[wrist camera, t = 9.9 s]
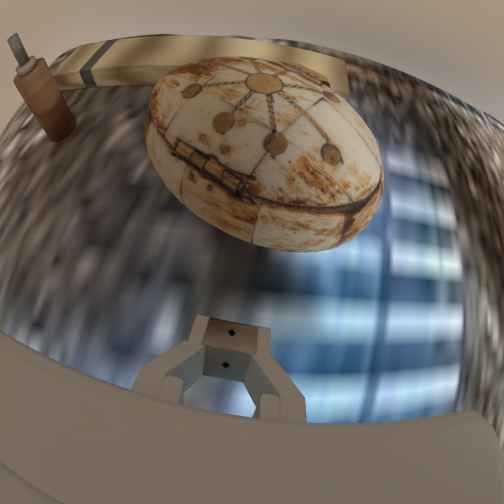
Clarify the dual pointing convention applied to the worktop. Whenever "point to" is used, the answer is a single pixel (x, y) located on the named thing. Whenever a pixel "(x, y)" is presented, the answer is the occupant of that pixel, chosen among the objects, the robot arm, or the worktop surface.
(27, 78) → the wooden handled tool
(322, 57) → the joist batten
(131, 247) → the worktop surface
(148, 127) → the trinket box
